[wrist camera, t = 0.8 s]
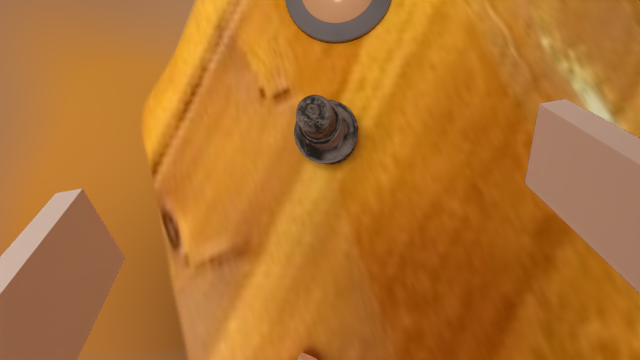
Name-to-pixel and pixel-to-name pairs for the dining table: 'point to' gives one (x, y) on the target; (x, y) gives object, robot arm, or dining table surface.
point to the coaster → (337, 18)
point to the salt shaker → (325, 130)
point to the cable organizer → (306, 357)
